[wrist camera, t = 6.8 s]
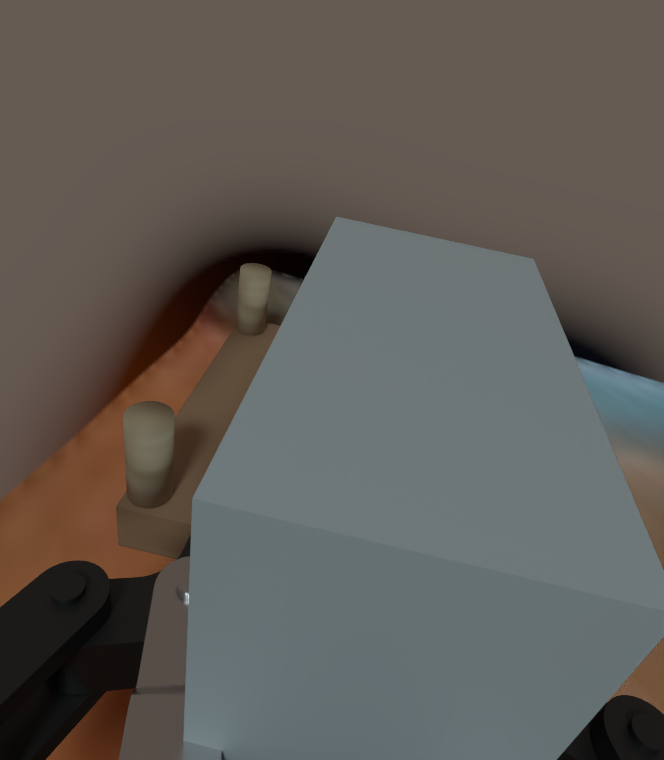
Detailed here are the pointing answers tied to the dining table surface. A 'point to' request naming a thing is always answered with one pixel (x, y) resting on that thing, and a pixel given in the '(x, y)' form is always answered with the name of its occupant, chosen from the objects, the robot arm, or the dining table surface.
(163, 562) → the dining table surface
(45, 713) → the robot arm
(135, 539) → the peg stand
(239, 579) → the rectangular block
